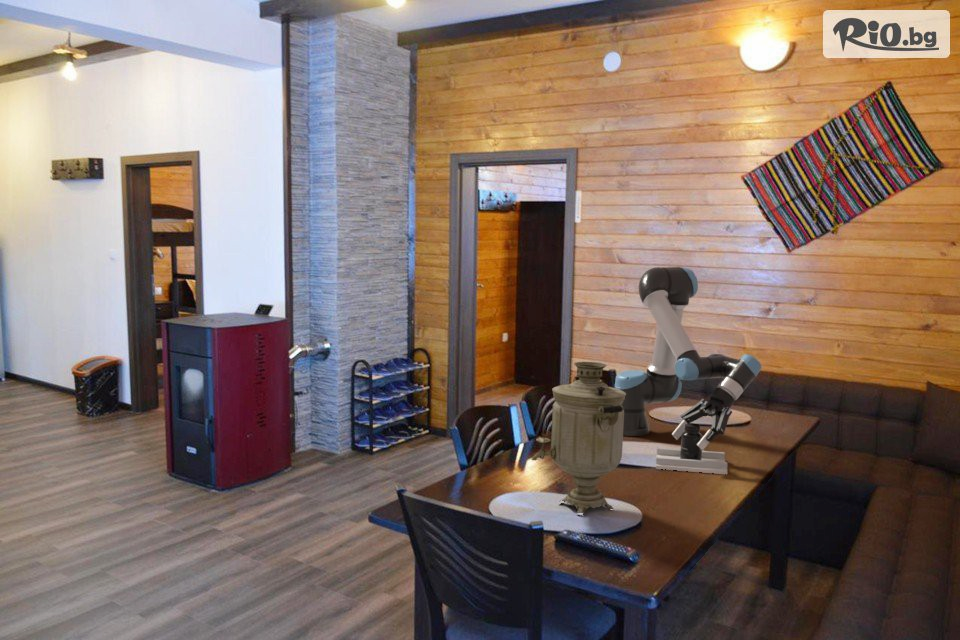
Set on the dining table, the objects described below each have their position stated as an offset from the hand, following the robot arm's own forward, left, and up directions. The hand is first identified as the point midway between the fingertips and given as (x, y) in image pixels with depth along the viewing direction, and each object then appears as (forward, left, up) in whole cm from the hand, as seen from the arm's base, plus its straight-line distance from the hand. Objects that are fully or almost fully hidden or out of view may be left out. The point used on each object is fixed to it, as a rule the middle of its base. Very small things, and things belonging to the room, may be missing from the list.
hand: (686, 442), depth 242 cm
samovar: (-30, -48, -8) cm, 57 cm away
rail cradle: (+2, +1, -8) cm, 8 cm away
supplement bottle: (+2, +1, -7) cm, 7 cm away
